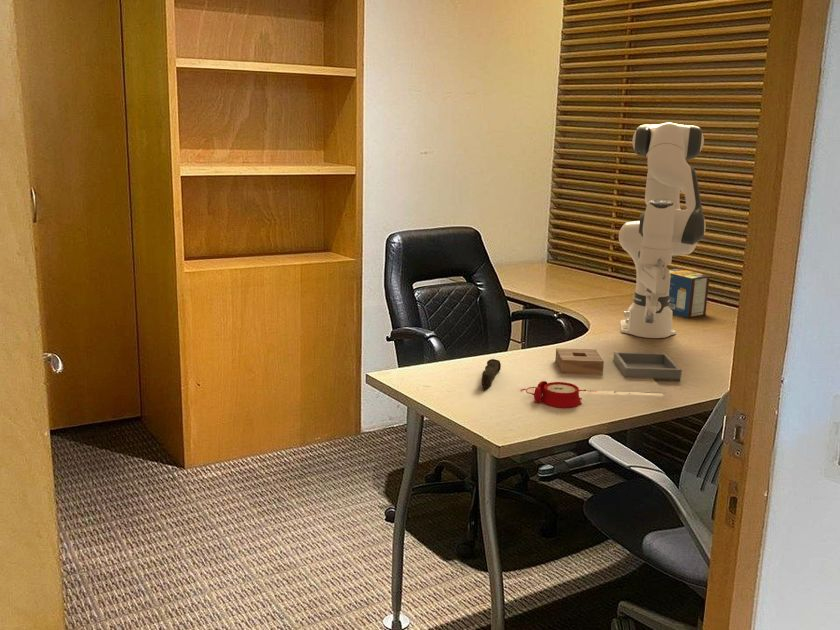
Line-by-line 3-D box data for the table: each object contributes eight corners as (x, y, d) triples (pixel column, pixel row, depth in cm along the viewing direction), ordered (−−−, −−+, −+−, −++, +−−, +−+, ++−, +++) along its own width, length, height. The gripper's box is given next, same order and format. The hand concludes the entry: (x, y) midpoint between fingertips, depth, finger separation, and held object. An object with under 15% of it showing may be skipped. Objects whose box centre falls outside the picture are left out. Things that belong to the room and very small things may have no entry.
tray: (612, 362, 253) (613, 352, 252) (665, 364, 253) (666, 353, 252) (624, 379, 237) (625, 368, 236) (680, 381, 237) (681, 369, 236)
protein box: (674, 306, 328) (678, 268, 324) (706, 315, 316) (710, 275, 312) (656, 309, 323) (660, 270, 319) (687, 318, 310) (692, 277, 306)
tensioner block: (555, 363, 251) (556, 348, 250) (594, 364, 251) (595, 349, 250) (561, 375, 239) (562, 360, 238) (602, 377, 239) (603, 361, 238)
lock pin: (640, 319, 243) (642, 290, 241) (654, 320, 243) (657, 290, 241) (643, 323, 239) (646, 293, 237) (658, 324, 239) (661, 294, 237)
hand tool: (487, 370, 243) (487, 355, 242) (500, 372, 242) (501, 357, 241) (473, 391, 225) (474, 375, 224) (488, 393, 224) (488, 376, 223)
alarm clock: (582, 398, 211) (527, 378, 215) (575, 420, 213) (520, 400, 217) (588, 386, 220) (535, 367, 224) (581, 406, 222) (528, 387, 226)
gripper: (677, 264, 226) (672, 312, 230) (657, 250, 246) (653, 295, 249) (654, 263, 226) (649, 312, 230) (636, 250, 246) (632, 295, 250)
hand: (651, 303), depth 240 cm, fingers closed on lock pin, 3 cm apart
